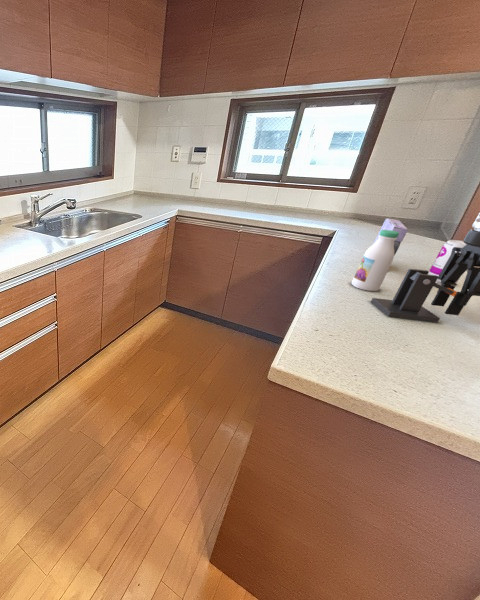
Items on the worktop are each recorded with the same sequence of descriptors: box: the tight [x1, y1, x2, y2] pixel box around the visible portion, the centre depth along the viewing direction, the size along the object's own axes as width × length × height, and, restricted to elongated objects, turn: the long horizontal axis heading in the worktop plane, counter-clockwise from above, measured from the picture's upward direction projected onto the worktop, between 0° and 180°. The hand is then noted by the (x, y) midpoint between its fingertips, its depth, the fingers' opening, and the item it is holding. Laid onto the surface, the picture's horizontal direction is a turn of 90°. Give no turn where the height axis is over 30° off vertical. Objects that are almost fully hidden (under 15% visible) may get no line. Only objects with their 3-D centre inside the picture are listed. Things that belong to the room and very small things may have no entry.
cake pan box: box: [373, 217, 409, 257], centre depth 133 cm, size 19×5×18 cm, turn 147°
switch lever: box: [410, 272, 458, 298], centre depth 93 cm, size 12×5×2 cm, turn 75°
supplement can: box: [428, 239, 466, 285], centre depth 118 cm, size 8×8×15 cm
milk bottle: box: [351, 230, 399, 292], centre depth 110 cm, size 8×8×20 cm
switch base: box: [370, 268, 441, 324], centre depth 95 cm, size 12×10×13 cm
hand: (444, 309), depth 95 cm, fingers closed on switch lever, 5 cm apart
